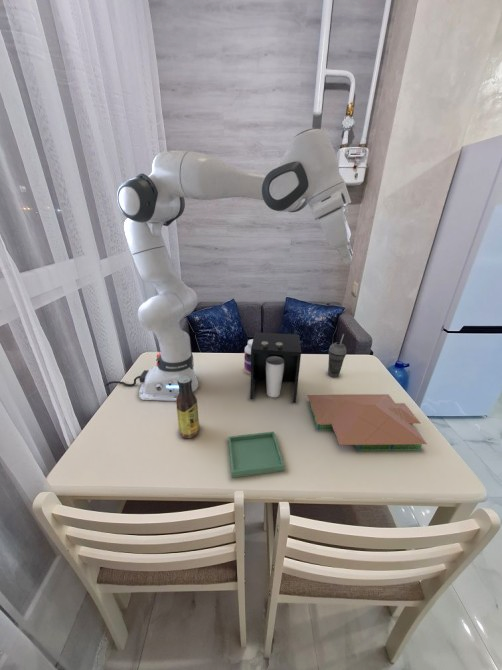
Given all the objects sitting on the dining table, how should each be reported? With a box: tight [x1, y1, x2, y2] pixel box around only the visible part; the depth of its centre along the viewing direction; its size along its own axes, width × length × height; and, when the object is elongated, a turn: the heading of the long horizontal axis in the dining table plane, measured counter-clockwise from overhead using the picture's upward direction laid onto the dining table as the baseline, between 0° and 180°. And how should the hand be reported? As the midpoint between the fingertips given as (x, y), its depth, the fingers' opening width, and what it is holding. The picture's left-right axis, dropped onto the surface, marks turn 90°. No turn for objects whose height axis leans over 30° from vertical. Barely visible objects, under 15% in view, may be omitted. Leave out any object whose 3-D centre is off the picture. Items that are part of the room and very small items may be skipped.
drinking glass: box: [265, 356, 284, 398], centre depth 99 cm, size 7×7×15 cm
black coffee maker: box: [249, 331, 302, 404], centre depth 99 cm, size 14×17×23 cm
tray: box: [227, 431, 285, 478], centre depth 76 cm, size 14×12×2 cm
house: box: [307, 393, 428, 451], centre depth 86 cm, size 23×33×8 cm
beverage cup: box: [327, 333, 347, 379], centre depth 110 cm, size 7×7×20 cm
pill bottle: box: [243, 338, 254, 375], centre depth 113 cm, size 8×8×14 cm
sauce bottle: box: [175, 376, 200, 439], centre depth 80 cm, size 7×6×20 cm
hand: (349, 259), depth 66 cm, fingers open, 8 cm apart
